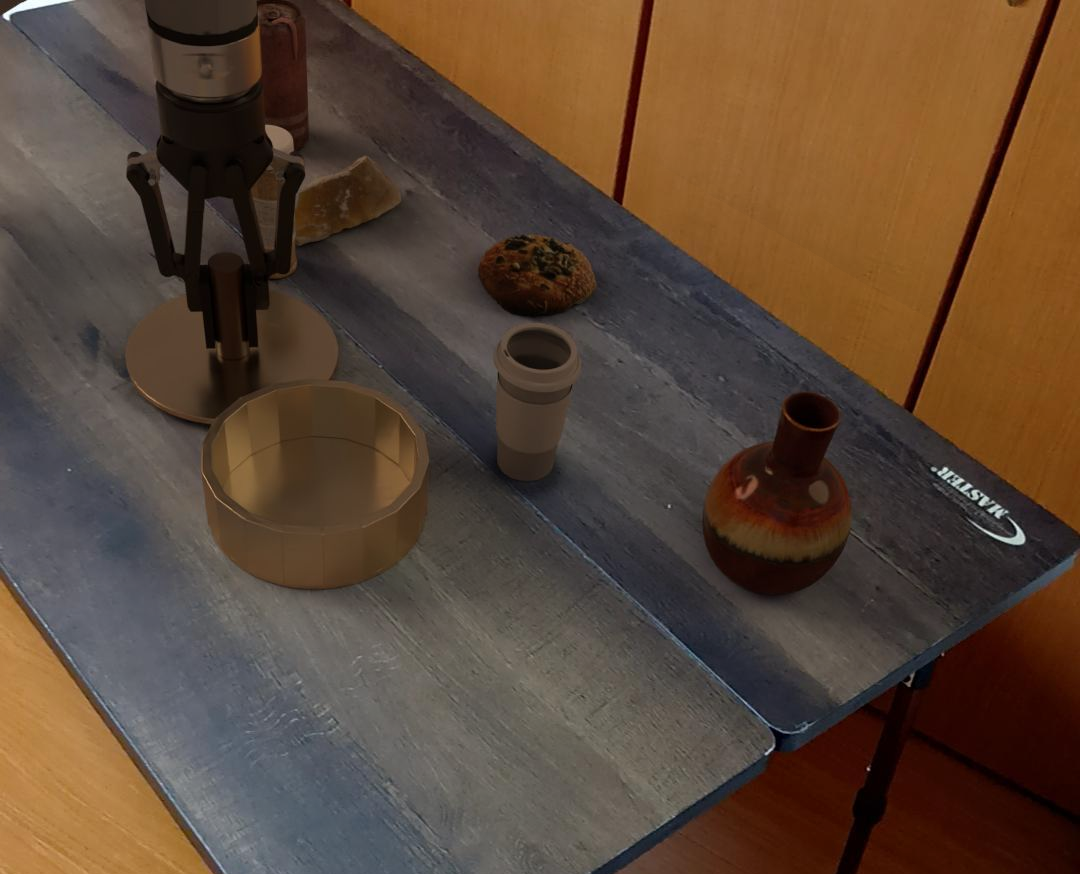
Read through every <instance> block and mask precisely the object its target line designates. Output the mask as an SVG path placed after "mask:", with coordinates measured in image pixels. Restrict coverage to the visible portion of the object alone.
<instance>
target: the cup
mask: <svg viewBox="0 0 1080 874" xmlns="http://www.w3.org/2000/svg"><path fill="white" fill-rule="evenodd" d="M492 360H493V364H494V367H495V369H496V371H497V374H496V409H495V410H496V411H495V412H496V415H495V431H496V435H497V439H496V440H497V441H496V443H497V444H496V445H497V446H496V464H497V466H498V468H499V470H500V471H501V472H502V473H503V474H504V475H505V476H507V477H509V478H510V479H513V480H516V481H519V482H536V481H539V480H542V479H543V478H545V477H547V476H548V475H549V474H550V473H551V471H552V470H553V467H554V463H555V458H556V453H557V449H558V446H559V443H560V441H561V439H562V435H563V431H564V426H565V423H566V418H567V414H568V409H569V405H570V401H571V396H572V392H573V388H574V383H575V382H576V381H577V380H578V378H579V377H580V375H581V371H582V362H581V357H580V354H579V352H578V347H577V344H576V342H575V340H574V339H573V338H572V336H570V335H569V334H568V333H567V332H565V330H562V329H561V328H559V327H556V326H554V325H551V324H547V323H542V322H526V323H521V324H517V325H515V326H513V327H511V328H509V329H508V330H507V331H506V332H505V333H503V335H502V338H501V339H500V340H499V341H498V343H497V345H496V346H495V349H494V351H493V358H492Z"/></svg>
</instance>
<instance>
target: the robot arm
mask: <svg viewBox="0 0 1080 874" xmlns="http://www.w3.org/2000/svg"><path fill="white" fill-rule="evenodd" d="M27 1H28V0H0V17H1V16H3V15H5V14H6V13H7V12H9V11H11V10H13V9H14V8H16V7H17V6H19V5H21V4H23V3H25V2H27ZM256 1H257V0H144V7H145V14H146V20H147V21H146V22H147V29H148V37H149V45H150V47H149V48H150V54H151V62H152V63H151V64H152V71H153V75H154V77H155V79H156V81H155V85H154V86H155V95H156V102H157V104H156V105H157V111H158V112H157V113H158V120H159V129H160V135H159V137H158V139H157V141H156V148H154V149H152V150H150V151H148V152H145V153H143V154H142V153H141V152H139V151H131V152H129V153H128V154H127V156H126V157H127V158H126V172H125V176H126V180H127V181H128V182H129V184H130V185H131V187H132V188H133V190H134V191H135V192H136V193H137V195H138V196H139V199H140V202H141V206H142V210H143V214H144V218H145V222H146V225H147V229H148V233H149V236H150V240H151V241H150V242H151V245H152V248H153V253H154V256H155V261H156V265H157V269H158V271H159V272H158V273H159V274H160V275H161V276H163V277H164V278H171V277H173V276H174V277H178V278H180V279H181V280H183V283H184V288H185V294H186V297H187V306H188V308H189V310H190V312H202V314H203V323H204V332H205V341H206V349H215V348H216V346H215V331H214V321H213V311H212V301H211V291H210V281H209V273H208V264H201V260H202V259H201V257H202V246H203V245H202V243H203V230H204V216H205V206H206V200H210V199H214V198H217V197H218V198H219V197H220V198H225V199H228V200H229V199H230V200H232V202H233V208H234V211H235V212H236V216H237V220H238V223H239V227H240V231H241V235H242V240H243V243H244V247H245V251H246V256H247V260H249V264H248V263H243V264H244V288H245V300H246V313H247V326H248V338H249V347H258V328H257V314H256V310H268V308H269V305H270V300H269V290H270V285H269V284H270V283H269V281H270V280H269V279H271V278H270V276H272V275H273V274H276V273H278V274H281V275H284V274H287V273H288V272H289V271H290V266H291V252H292V239H293V225H294V212H295V209H296V199H297V194H298V193H299V191H300V188H301V186H302V185H303V182H304V180H305V178H306V168H305V167H306V166H305V157H304V154H303V153H302V152H301V151H300V150H299V151H292V152H290V154H287V153H284V152H282V151H280V150H277V149H275V148H273V144H272V141H271V140H270V138H269V137H268V135H267V133H266V131H265V114H264V97H263V84H262V81H261V80H260V77H261V74H262V61H261V44H260V27H259V18H258V7H257V2H256ZM269 165H270V166H272V167H273V173H274V179H275V180H276V181H277V182H278V193H277V209H276V225H275V241H274V250H273V251H270V252H267V253H266V252H265V248H264V243H263V239H262V235H261V231H260V226H259V222H258V218H257V214H256V210H255V205H254V201H253V197H252V193H251V188H252V187H253V186H254V184H255V183H256V182H257V180H258V179H259V178H260V177H261V175H262V174H263V173H264V171H265V170H266V169H267V168H268V166H269ZM162 167H163V168H164V169H165V171H167V172H168V173H169V174H170V175H171V176H172V178H173V179H174V180H176V181H177V182H178V183H179V185H180V186H181V187H182V188H184V190H185V191H186V192H187V199H186V216H185V231H184V232H185V233H184V249H183V253H180V252H176V250H175V245H174V240H173V237H172V232H171V228H170V224H169V220H168V216H167V213H166V208H165V204H164V200H163V195H162V193H161V188H160V184H159V182H160V181H161V168H162Z"/></svg>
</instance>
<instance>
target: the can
mask: <svg viewBox="0 0 1080 874" xmlns="http://www.w3.org/2000/svg"><path fill="white" fill-rule="evenodd" d="M256 2H257V7H258V18H259V27H260V44H261V61H262V74H261V77H260V80H261V81H262V84H263V97H264V114H265V125H273V126H278V127H281V128H283V129H285V130H286V131H288V132H289V133H290V134H291V136H292V138H293V145H294V151H299V152H300V151H301V150H302V149H303V148H304V147H305V146H306V144H307V143H308V142H309V139H310V124H309V123H310V121H309V120H310V119H309V91H308V88H309V87H308V64H307V63H308V59H307V58H308V57H307V30H306V29H307V27H306V19H305V17H304V15H303V13H302V10H301V8H300V6H298V5H297V4H295V3H294V2H291V1H289V0H256Z"/></svg>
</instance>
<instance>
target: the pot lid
mask: <svg viewBox="0 0 1080 874" xmlns="http://www.w3.org/2000/svg"><path fill="white" fill-rule="evenodd" d="M244 264H245V263H244V259H243V258H242V257H241V256H240V255H239V254H237V253H235V252H230V251H221V252H217V253H214V254H212V255H211V256H210V257H209V258H208V260H207V265H208V273H209V281H210V291H211V301H212V311H213V321H214V331H215V346H216V348H215V349H206V341H205V332H204V323H203V314H202V312H190V310H189V308H188V306H187V297H186V293H185V294H182V295H179V296H177V297H175V298H172V299H169V300H168V301H166V302H164V303H162V304H160V305H158V306H157V307H156V308H154V309H153V310H151V311H150V312H148V314H146V315H145V316H144V317H143V318H142V319H140V321H139V322H138V323H137V324H136V326H135V327H134V328H133V330H132V331H131V334H130V335H129V337H128V340H127V342H126V347H125V351H124V352H125V353H124V356H125V367H126V370H127V374H128V377H129V379H130V382H131V383H132V385H133V386H134V388H135V389H136V390H137V392H138V393H139V394H140V395H141V396H142V397H143V398H144V399H145V400H146V401H148V402H149V403H151V404H152V405H153V406H154V407H156V408H157V409H160V410H162V411H163V412H166V413H168V414H170V415H173V416H175V417H177V418H180V419H184V420H187V421H190V422H195V423H201V424H206V425H212V423H213V421H214V420H215V418H216V417H218V416H219V415H220V414H221V413H222V412H224V411H225V410H226V409H227V408H228V407H230V406H231V405H232V404H233V403H234V402H236V401H237V400H238V399H239V398H241V397H243V396H245V395H248V394H250V393H253V392H255V391H257V390H260V389H262V388H265V387H267V386H269V385H272V384H277V383H283V382H290V381H296V380H303V379H321V380H333V378H334V377H335V374H336V371H337V369H338V365H339V344H338V340H337V337H336V335H335V332H334V330H333V328H332V327H331V325H330V324H329V322H328V321H327V320H326V319H325V318H324V317H323V315H321V314H320V313H319V312H318V311H317V310H316V309H314V308H313V307H311V306H309V305H308V304H306V303H305V302H303V301H301V300H299V299H297V298H295V297H293V296H291V295H287V294H285V293H281V292H277V291H274V290H271V289H269V300H270V305H269V308H268V310H256V314H257V328H258V347H249V338H248V326H247V313H246V300H245V288H244Z"/></svg>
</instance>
